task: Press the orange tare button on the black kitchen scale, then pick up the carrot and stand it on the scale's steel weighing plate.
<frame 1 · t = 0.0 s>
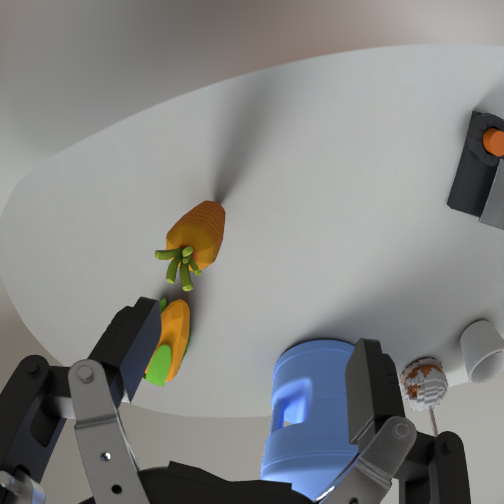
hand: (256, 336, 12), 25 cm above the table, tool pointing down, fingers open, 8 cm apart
water jug: (321, 368, 49), on the table
scale: (490, 169, 29), on the table
corn: (171, 327, 49), on the table
carrot: (217, 204, 37), on the table
cup: (474, 336, 42), on the table
caramel apple: (420, 370, 47), on the table
tare button: (495, 142, 25), point 4 cm above the table, slide at 0.1 cm
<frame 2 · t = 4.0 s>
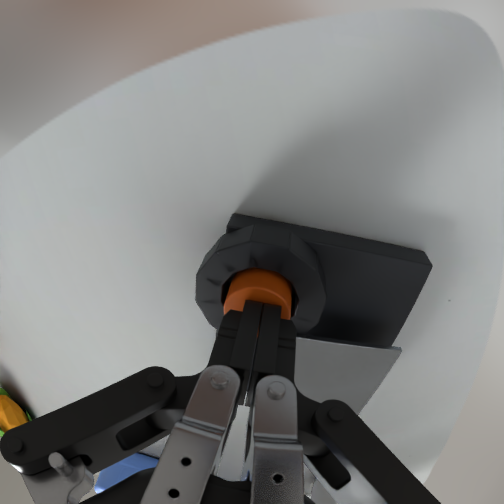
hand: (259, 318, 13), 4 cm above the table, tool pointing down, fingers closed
water jug: (156, 470, 38), on the table
weighing plate: (323, 387, 16), resting on scale
scale: (307, 323, 18), on the table
corn: (20, 405, 38), on the table
cup: (344, 476, 31), on the table
tare button: (259, 301, 14), point 3 cm above the table, slide at -0.3 cm, touching gripper
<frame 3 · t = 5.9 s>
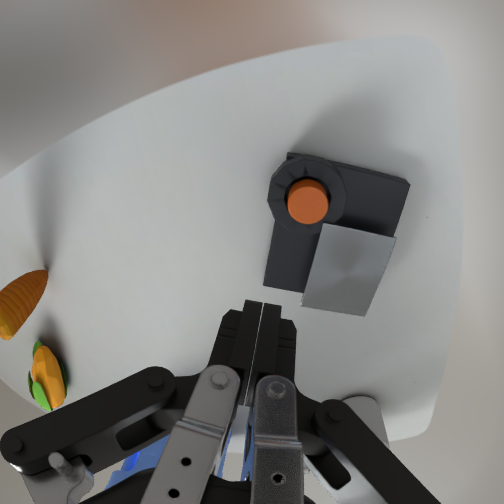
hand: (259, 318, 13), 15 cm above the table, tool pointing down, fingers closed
water jug: (185, 417, 47), on the table
weighing plate: (346, 272, 25), resting on scale
scale: (332, 231, 27), on the table
corn: (54, 363, 46), on the table
carrot: (47, 270, 35), on the table
cup: (358, 408, 40), on the table
tare button: (307, 201, 22), point 4 cm above the table, slide at 0.1 cm
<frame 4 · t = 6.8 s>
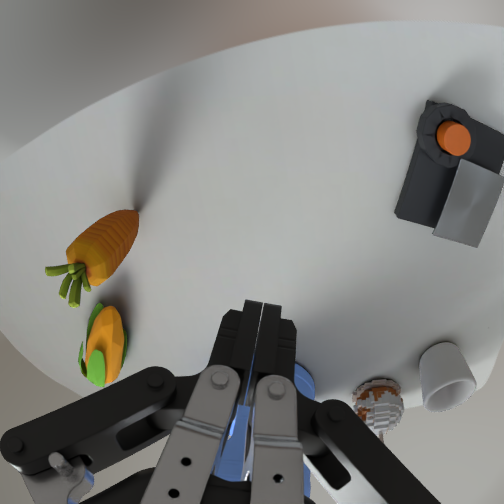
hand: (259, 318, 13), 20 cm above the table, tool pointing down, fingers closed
water jug: (264, 382, 47), on the table
weighing plate: (470, 205, 25), resting on scale
scale: (452, 172, 27), on the table
corn: (111, 331, 46), on the table
carrot: (137, 212, 34), on the table
cup: (438, 358, 40), on the table
caramel apple: (375, 389, 45), on the table
tare button: (453, 137, 22), point 4 cm above the table, slide at 0.1 cm
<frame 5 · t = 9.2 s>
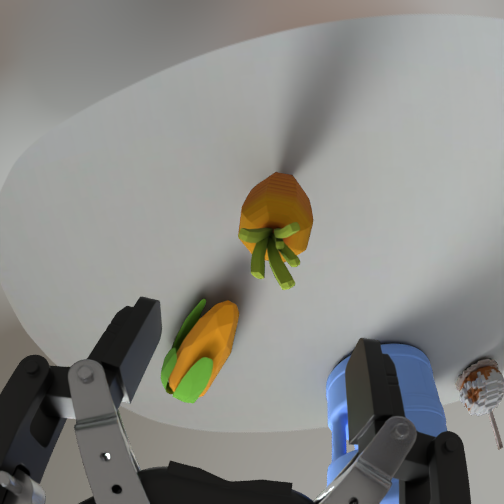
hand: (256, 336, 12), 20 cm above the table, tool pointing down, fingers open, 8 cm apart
water jug: (378, 375, 41), on the table
corn: (205, 334, 41), on the table
carrot: (282, 180, 29), on the table
caramel apple: (475, 371, 39), on the table
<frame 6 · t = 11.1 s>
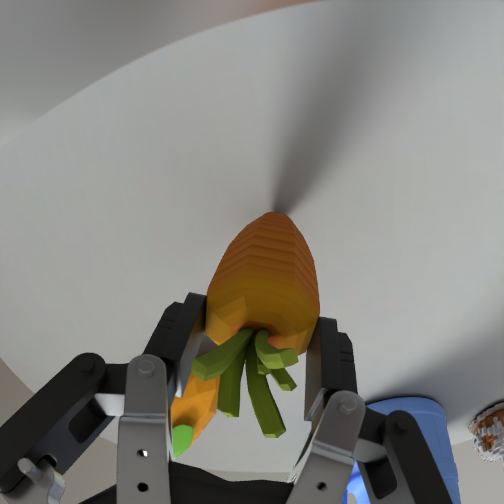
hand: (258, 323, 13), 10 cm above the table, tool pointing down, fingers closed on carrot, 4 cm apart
water jug: (386, 425, 34), on the table
corn: (187, 385, 33), on the table
carrot: (276, 217, 22), on the table, touching gripper
caramel apple: (490, 413, 32), on the table
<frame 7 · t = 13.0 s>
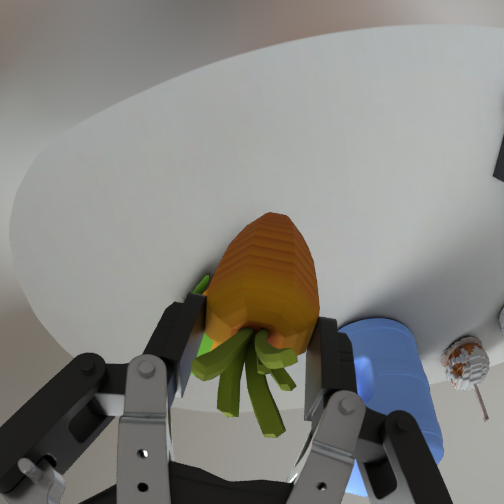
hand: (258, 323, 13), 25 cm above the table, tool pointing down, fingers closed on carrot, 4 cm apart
water jug: (367, 351, 46), on the table
corn: (207, 310, 46), on the table
carrot: (276, 217, 22), point 14 cm above the table, touching gripper
caramel apple: (460, 350, 44), on the table
when the fingers open (14 cm above the table, at t = 19.2 s): carrot stays where it is, resting on weighing plate.
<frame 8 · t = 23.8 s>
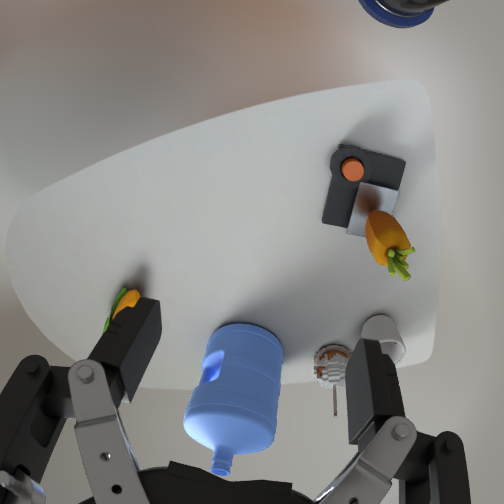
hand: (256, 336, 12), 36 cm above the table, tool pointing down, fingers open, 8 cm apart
water jug: (246, 348, 64), on the table
weighing plate: (372, 211, 43), resting on scale
scale: (362, 189, 45), on the table
corn: (130, 310, 64), on the table
carrot: (373, 212, 43), point 3 cm above the table, touching weighing plate
cup: (379, 329, 57), on the table
caramel apple: (332, 355, 62), on the table
tare button: (352, 169, 40), point 4 cm above the table, slide at 0.1 cm
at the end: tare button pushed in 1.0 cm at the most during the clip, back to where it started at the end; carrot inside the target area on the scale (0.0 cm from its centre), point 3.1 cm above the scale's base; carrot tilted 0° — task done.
